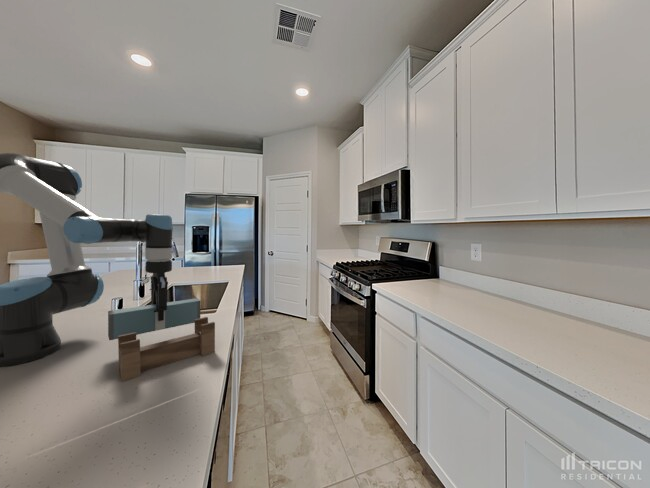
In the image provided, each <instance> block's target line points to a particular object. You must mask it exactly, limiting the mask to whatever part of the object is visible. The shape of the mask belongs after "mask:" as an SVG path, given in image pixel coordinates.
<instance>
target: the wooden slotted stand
mask: <svg viewBox="0 0 650 488" xmlns="http://www.w3.org/2000/svg"><path fill="white" fill-rule="evenodd" d="M215 332H216V322H215V321H212V322H209V318H208V316H204V317H200V318H199V319H195V323H194V333H191V334H187V335H183V336H180V337H175V338H172V339H168V340H163V341H159V342H155V343H152V344H148V345H142V346H141V340H140V339H139V338H137V335H136V332H134V333H129V334H124V335H119V336H118V339H117V343H118V344H117V345H118V351H117V352H118V354H117V355H118V372H119V376H120V380H121V382H124V381H129V380H131V379H134V378H138V377H140V376H141V373H143V372H145V371H147V370H148V371H149V370H151V369H155V368H158V367H162V366H164V365H165V366H166V365H168V364H171V363H175V362H178V361H181V360H184V359H188V358H190V357H194V356H198V355H200V356H201V357H205V356H207V355H210V354H214V353H215V352H216V333H215Z"/></svg>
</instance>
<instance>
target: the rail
mask: <svg viewBox="0 0 650 488" xmlns="http://www.w3.org/2000/svg"><path fill="white" fill-rule="evenodd" d="M154 310H156V304H154V305H152V304H147V305H142V306H135V307H127V308H120V309H113V310H108V311H107V314H108V316H107V320H108V321H107V322H108V323H107V325H108V327H107V329H108V330H107V332H108V333H107V335H108V341H113V340H118V336H119V335H124V334H129V333H134V332H136V336H138V335H142V334H146V333H152V332H156V331H155V312H154ZM199 318H201V300H200V299H199V298H197V297H195V298H188V299H183V300H176V301H167V310H165V329H164V330H167V329H170V328H176V327H181V326H187V325H189V324H190V325H191V324H195V319H199ZM161 330H163V329H161ZM161 330H160V331H161Z"/></svg>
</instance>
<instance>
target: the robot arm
mask: <svg viewBox="0 0 650 488" xmlns="http://www.w3.org/2000/svg"><path fill="white" fill-rule="evenodd" d="M82 188H83V182H82V177H81V176H80V174H79V173H78V171H77V170H75V169H74V168H72V167H71V166H69V165H67V164H63V163H61V162H57V161H51V160H47V159H43V158H42V159H41V158H37V157H32V156H27V155H24V154H20V153H14V152H5V153H4V152H3V153H0V192H2V193H3V194H8V195H13V196H15V197H16V198H17V199H19V200H20V201H22V202H24V203H25V204H27V205H29V206H30V207H32V208H34V209H35V210H36V211H38V212H39V217H40V222H41V225H42V230H43V231H42V232H43V235H44V240H45V245H46V249H47V253H48V259H49V262H50V268H51V270H50V272H49V273H48V274H46V276H35V277H29V278H22V279H17V280H12V281H8V282H5V283H3V284H0V367H8V366H15V365H20V364H25V363H29V362H32V361H36V360H38V359H42V358H44V357H47V356H50V355H52V354H54V353H56V352H57V351H59V350H60V349H61V347H62V339H61V337H60V335H59V334H58V332H57V330H56V329H55V327H54V322H53V321H54V320H53V315H56V314H60V313H63V312H67V311H70V310H75V309H78V308H84V307H87V306H89V305H92V304H94V303H96V302H97V301H99V299H100V298H101V297H102V295H103V294H104V288H105V287H104V286H105V283H104V281H103V279H102V277H100V275H99V274H96V273H93V270H92V268H91V267H89V266H88V265H86V262H85V259H84V254H83V250H82V249H83V248H82V244H86V245H90V244H98V243H99V244H100V243H122V242H124V243H125V242H139V243H140V242H143V243H145V251H144V252H145V260H146V261H145V272H146V273H149V274H152V275H151V276H150V305H154V304H156V310H154V312H155V331H154V332H158V331H161V329H162V330H166V329H165V310H167V302H168V285H169V282H168V277H167V276H166V273H169V272H171V271H172V270H173V261H172V258H173V257H172V256H173V254H172V253H175V251H174V250H173V242H172V241H173V229H174V228H173V218H172V216H171V215H167V214H154V213H153V214H152V213H149V214H148V213H147V214H146V215H145V219H135V218H133V219H132V218H111V217H110V218H109V217H101V216H98V215H97V214H95V213H93V212H92V211H90V210H88V209H87V208H85V207H84V206H82V205H81V204H79V203H77V202H76V201H75V200H77V195H79V194H80V193H81V190H82Z"/></svg>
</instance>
